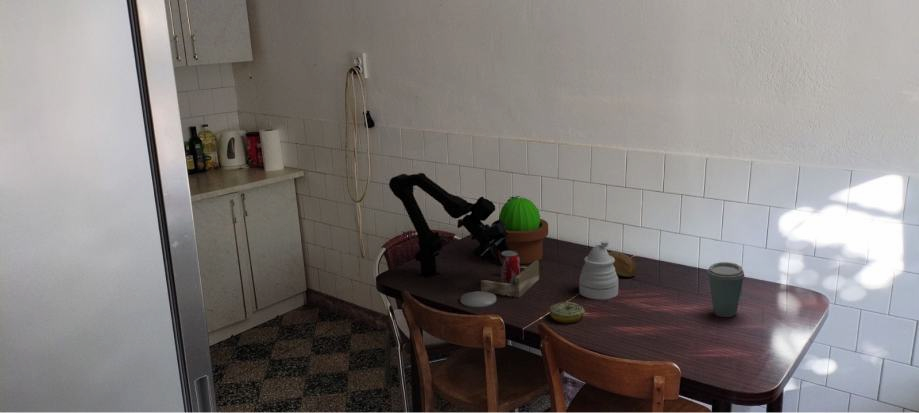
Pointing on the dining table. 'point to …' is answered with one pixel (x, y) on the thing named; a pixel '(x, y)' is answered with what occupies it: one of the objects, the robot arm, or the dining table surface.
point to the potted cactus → (523, 229)
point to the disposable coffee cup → (725, 287)
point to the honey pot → (599, 274)
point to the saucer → (478, 299)
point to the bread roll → (623, 264)
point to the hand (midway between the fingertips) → (506, 261)
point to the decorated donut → (566, 312)
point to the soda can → (509, 267)
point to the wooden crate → (522, 282)
